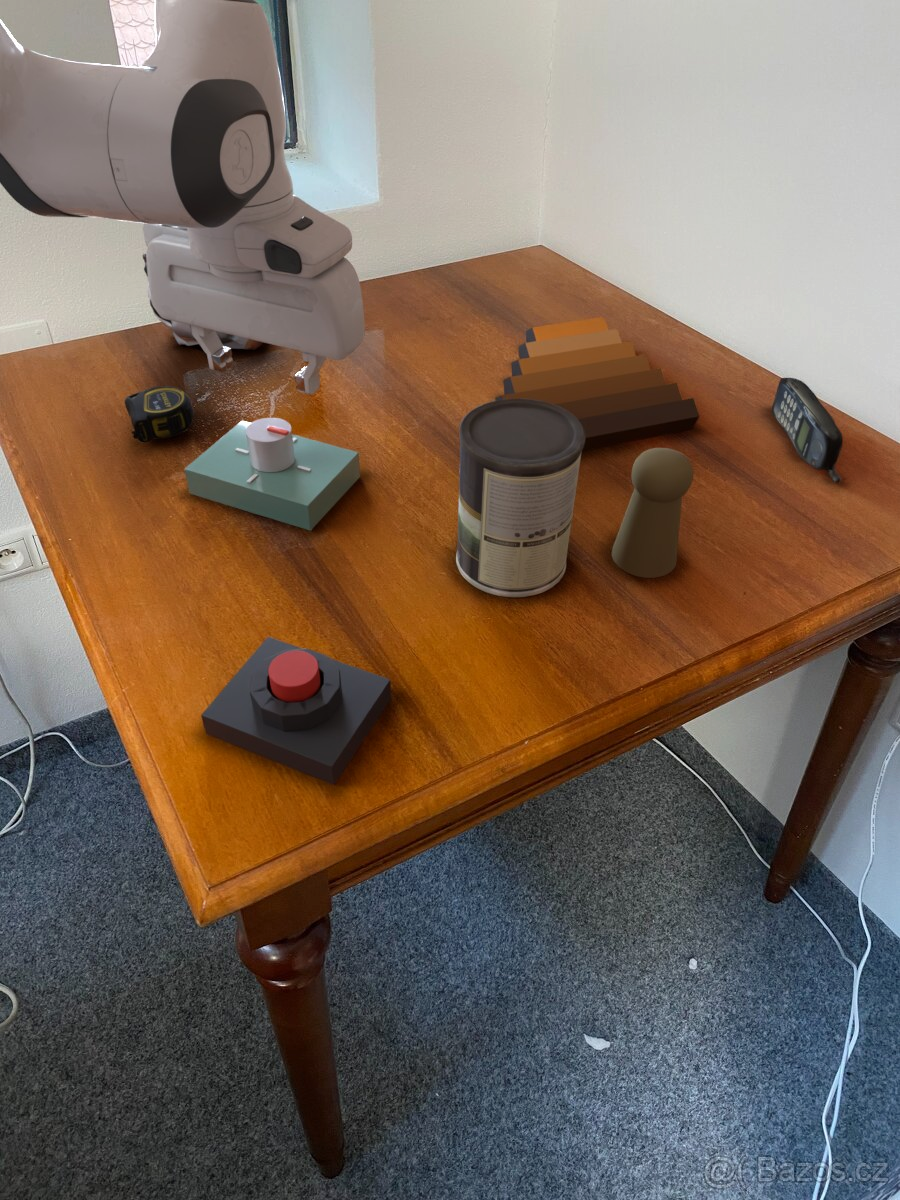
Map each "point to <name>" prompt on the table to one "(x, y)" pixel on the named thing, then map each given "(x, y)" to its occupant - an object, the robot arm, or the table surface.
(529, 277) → the table surface
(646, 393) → the pan flute
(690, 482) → the game pawn
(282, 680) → the button
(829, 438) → the mobile phone
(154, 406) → the tape measure
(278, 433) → the rotary dial knob
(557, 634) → the table surface
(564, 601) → the table surface
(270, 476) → the rotary dial box
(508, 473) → the coffee can
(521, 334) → the table surface
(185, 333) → the lucky cat figurine
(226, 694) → the button block
